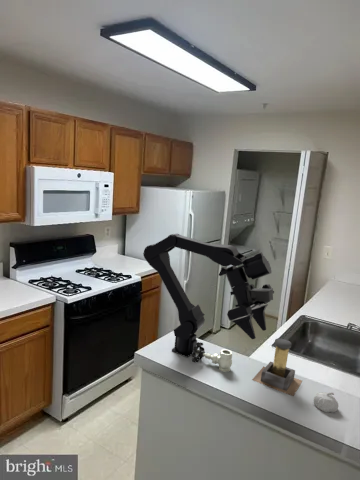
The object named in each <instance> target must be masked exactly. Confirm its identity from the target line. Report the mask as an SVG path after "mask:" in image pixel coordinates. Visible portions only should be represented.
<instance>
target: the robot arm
mask: <svg viewBox="0 0 360 480" xmlns="http://www.w3.org/2000/svg"><path fill="white" fill-rule="evenodd" d="M175 248H178V249H181V250H184V251H187V252H191V253H192V254H193V253H194V254H197V255H200V256H204V257H206V258H208V259H210V260H211V261H212V262H214V263H216V264H218V265H219V266H221V268H220V271H219V274H218V276H219V277H221V276H222V277H223V276H226V278H227V281H228V283H229V286H230V288H231V291H230V292H229V293H230V295H231V296H234V299H235V301H236V302H235V303H236V304H235V307H233V308H230V309H229V310H228V312H227V313H226V316H227V318H228V320H229V321H231V322H232V323H234V324H235V325H237V326H238V328H240V329H241V330H242V331H243V332H244V333H245V334H246V335H247V336H248V337H249V338H250V339H251V340H255V339H256V334H255V330H254V326H253V322H252V319H254V321H255V322H256V324H257V325H258V326H259V328H260V329H261V330H262V332H263V331H266V330H267V323H266V316H265V315H266V314H265V312H266V308H268V306H269V304H268V303H270V302H271V301H273V300H274V294H275V291H274V288H272V285H270V284H267V283H266V284H263V285H262V287H257V288H256V287H255V285H254V284H253V283H250V281H249V279H251V280H253V281H255V280H257V279H260V278H263V277H265V276H267V275H270V274H272V267H271V264H270V262H269V260H268V259H267V258H266V256H265V255H264V254H263V252H261V251H260V252H258V253H256V254H254V255H253V256H250V257H248V256H245V255H244V254H242V253H241V252H239V250H238V248H237V247H235V246H234V245H230V244H220V243H218V244H214V243H210V242H206V241H202V240H199V239H195V238H192V237H188V236H186V235H185V236H184V235H182V234H180V233H173V234H169V235H168V236H166V238H163V239H162V240H160V241H158V242H156V243H154V244H150V245H147V246H146V247H145V248H144V250H143V253H142V254H143V258H144V259H145V261H146V262H147V263H148V265H149V266H150V267H152V269H153V270H155V271H156V272H157V273H158V276H159V277H160V279H161V280H162V283H163V285H164V286H165V288H166V290H167V293H168V294H169V296H170V298H171V299H172V301H173V303H174V304H175V307H176V309H177V315H178V316H177V317H178V321H179V325H178V326H177V327H175V328H174V329H173V333H174V337H175V339H174V347H172V348H171V351H172V352H174V353H176V354H178V355H181V356H183V357H186V358H189V357H190V356H192V354H193V353H194V350H193V348H194V347H196V346H197V342H198V340H197V334H196V332H198V331H199V330H200V329H201V328H202V327H203V326H204V324H205V314H204V313H203V311H202V309H201V306H200V305H199V304H197V305H196V306H195V304H193V303H192V302H191V301H190V300H189V297H188V295H187V293H186V292H185V290H184V288H183V286H182V284H181V283H180V281H179V279H178V277H177V275H176V273H175V272H174V269H173V268H172V266H171V258H170V257H171V256H170V253H169V252H171V251H172V250H173V249H175Z"/></svg>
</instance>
